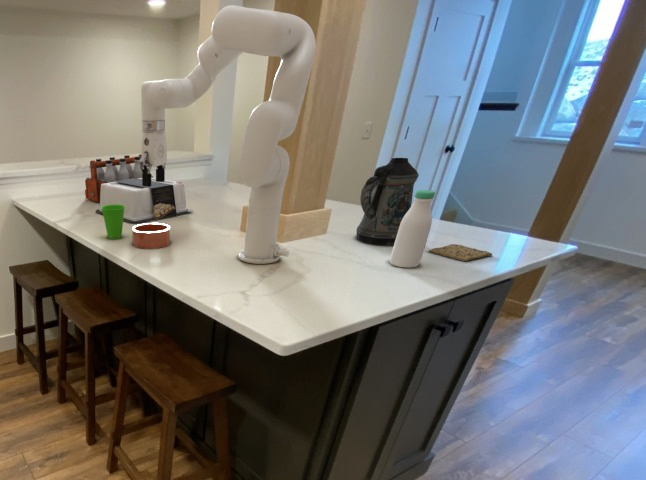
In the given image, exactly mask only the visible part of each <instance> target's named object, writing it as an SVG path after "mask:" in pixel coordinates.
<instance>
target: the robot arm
mask: <svg viewBox="0 0 646 480" xmlns="http://www.w3.org/2000/svg"><path fill="white" fill-rule="evenodd" d="M316 47H317V43H316V36H315V32H314V31H313V28H312V27H311V25H309V23H308V22H307V21H306V20H304V19H303V18H302V17H300V16H297V15H295V14H292V13H288V12H281V11H276V10H271V9H262V8H255V7H254V8H253V7H246V6H240V5H236V4H229V5H227V6H224V7H223V8H221V9H220V10H218V12H217V14H216V15H215V17H214V19H213V21H212V24H211V35H210V36H209V37H208V38H207V39H206V40H205V41H203V42H202V43H201V45H199V47H198V50H197V59H198V65H197V66H195V68H194V69H193V70H192V71H191V72H190V73H189V74H188V75H186V76H185V77H184V78H165V79H161V80H147V81H144V82H143V83H142V84H141V87H140V88H141V89H140V93H141V94H140V97H141V100H140V101H141V102H140V103H141V133H142V137H141V154H142V157H141V159H140V160H139V162H140V166H141V167H140V168H141V170H142V171H141V173H142V185H143V186H147V187H150V186H151V175H152V173H151V171H152V168H153V167H156V169H155V178H156V181H157V182H164V181H165V180H166V179H165V176H166V174H165V173H166V171H165V170H166V164H167V160H168V157H167V156H168V154H167V153H168V152H167V137H166V109H167V110H168V109H170V110H171V109H179V108H187V107H189V106H191V105H192V104H194V103H196V102H197V101H198V100H199V99H200V98H202V96H203V95H205V94H206V93H207V92H208V91H209V90H210V88H211V87H212V85H213V84H214V82H215V80H216V78H217V76H218V75H219V74H220V73H221V72H222V71H224V69H226V68H227V67H228V66H229V65H231V64H232V62H234V60H236V59H237V58H238V57H239V56H240V55H242V54H243V53H246V54H252V55H256V56H260V57H261V56H263V57H274V58H275V57H279V58H280V64H279V67H278V69H277V70H276V73H275V75H274V76H275V77H274V78H273V83H272V87H271V92H270V95H269V99H268V100H265V101H263V102H261V103H259V104H258V105H257V106H256V107H255V108H254V109H253V110H252V112H251V114H250V115H249V118H248V120H247V123H246V127H245V131H244V135H243V141H242V144H241V149H240V154H239V159H238V165H237V173H238V177H239V178H238V179H239V180H240V182H241V183H242V184H243V185H244V186H246V187H248V188H250V192H249V197H248V205H247V214H246V215H247V216H246V224H245V225H246V228H245V234H244V235H245V236H244V246H243V250H241V251H240V252H238V259H239V260H240V261H242V262H245V263H248V264H255V265H257V264H258V265H265V264H272V263H275V262H278V261H279V260H280V256H281V257H285V258H287V257H289V256H290V250H289V249H288V248H285V247H280V246H279V245H280V242H277V241H278V233H279V225H280V220H281V219H280V217H281V211H282V205H283V197H284V192H285V187H286V183H287V179H288V176H289V172H290V165H291V160H290V155H289V152H287V150H286V149H285V147H282V146H280V145H278V144H279V142H280V141H283V140H285V139H288V138H289V137H290V136H291V135H293V133H294V132H295V130H296V128H297V125H298V121H299V118H300V113H301V109H302V106H303V102H304V99H305V96H306V92H307V87H308V83H309V79H310V76H311V72H312V69H313V65H314V63H315V57H316V51H317V48H316Z"/></svg>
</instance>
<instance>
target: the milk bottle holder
mask: <svg viewBox="0 0 646 480" xmlns="http://www.w3.org/2000/svg"><path fill="white" fill-rule="evenodd" d="M130 156H131V155H124V156H123V157H122V158H117V159H116V157H115V156H109V159H107V160H102V158H95V160H93V159H92V160H90V161H89V169H90V176H89V177H85V179H84V182H85V183H84V184H85V189H84V196H85V200H90V201H92V202H96V203H100V193H101V184H104V183H111V182H113V181H118V180H124V179H131V178H137V179H138V178H142V173H141V171H142V170H141V168H140V167H141V166H140V162H139V160H140V159H141V157H142V153H140V154H138V156H137V155H136V156H132V157H130ZM131 164H134V166H133V167H132V165H131ZM117 166H119V169H118V168H117ZM104 168H105V170H104ZM151 178H154V176H153V174H151Z"/></svg>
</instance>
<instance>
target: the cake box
mask: <svg viewBox="0 0 646 480" xmlns="http://www.w3.org/2000/svg"><path fill="white" fill-rule="evenodd" d="M186 198H187V197H186V189H185V183H184V182H183V181H174V180H167V179H165V181H164V182H157V181H156V177H153V178H151V186H150V187H147V186H143V185H142V178H138V179H137V178H131V179H124V180H118V181H113V182H111V183H104V184H101V193H100V202H99V208H98V209H95V212H96V213H97V214H100V215H103V212H102V209H101V207H102V206H106V205H116V204H117V205H124V206H125V208H124V217H123V222H127V223H130V224H140V223H141V224H142V223H145V222H150V221H160V220H165V219H169V218H176V217H177V216H179V215H183V214H189V213H190V212H194V210H193V209H191V208H190V209H189V208H188V207H187V199H186Z"/></svg>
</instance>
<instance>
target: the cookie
mask: <svg viewBox="0 0 646 480" xmlns="http://www.w3.org/2000/svg"><path fill="white" fill-rule="evenodd" d="M428 252H429V253H433V254H435V255H440V256H443V257H447V258H451V259H454V260H458V261H462V262H469V261H473V260H476V259H482V258H484V257H489V256H493V253H492V252H489V251H486V250H481V249H477V248H473V247H468V246H465V245H462V244H457V243H452V244H451V243H450V244H448V245H445V246H441V247H434V248H431V249H429V251H428Z"/></svg>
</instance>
